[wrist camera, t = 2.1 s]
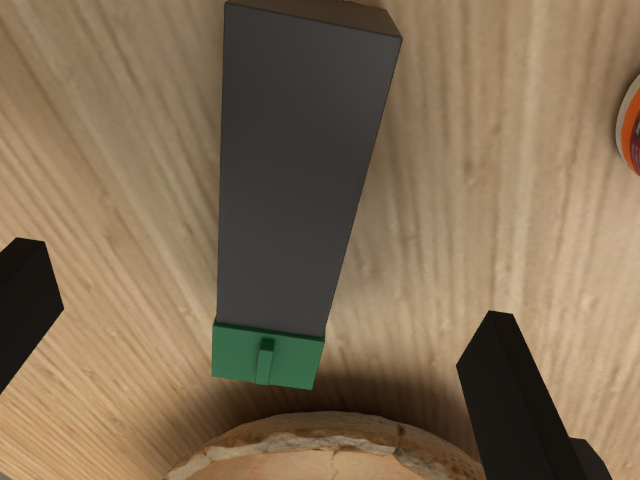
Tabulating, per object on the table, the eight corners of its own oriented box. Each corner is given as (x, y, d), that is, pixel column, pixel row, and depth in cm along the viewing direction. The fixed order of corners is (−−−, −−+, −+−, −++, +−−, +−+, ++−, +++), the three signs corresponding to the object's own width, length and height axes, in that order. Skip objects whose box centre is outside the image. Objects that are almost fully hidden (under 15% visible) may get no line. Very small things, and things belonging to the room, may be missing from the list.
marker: (252, -18, 13) (210, 5, 9) (390, 10, 14) (412, 44, 9) (233, 303, 22) (207, 388, 18) (316, 315, 23) (310, 402, 18)
